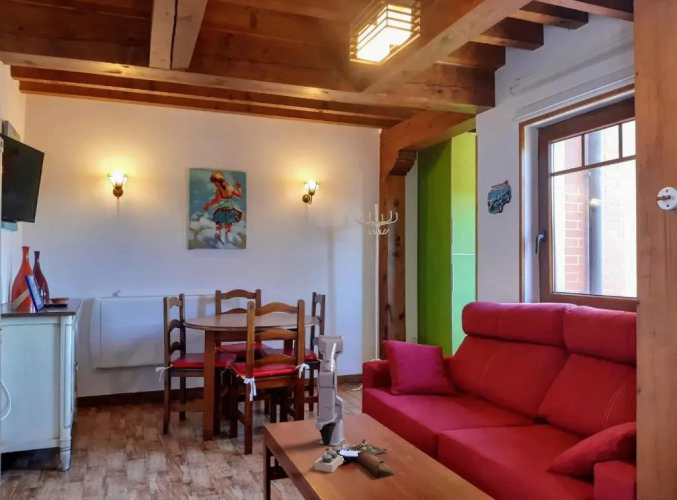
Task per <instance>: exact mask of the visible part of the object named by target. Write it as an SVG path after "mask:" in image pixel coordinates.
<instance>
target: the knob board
mask: <svg viewBox="0 0 677 500" xmlns="http://www.w3.org/2000/svg"><path fill="white" fill-rule="evenodd" d="M329 450H332V449H331V448H330V449H329ZM325 454H327V451H326V452H325V453H323V455H325ZM343 461H344V458H343V456H340V455H336V458H335V459H331V462H330V463H323V462H322V455H321V456H320V457H319V458H318V459H316V460H315V461H314V462H313V470H315V471H321V470H322V472H326V473H327V472H328V473H334V471H336V468H337V467H338V466H339V465H340V466H341V465H342V464H343V463H344V462H345V461H344V462H343ZM340 466H339V467H340ZM339 467H338V468H339ZM338 468H337V469H338Z"/></svg>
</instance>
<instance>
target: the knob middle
mask: <svg viewBox="0 0 677 500" xmlns="http://www.w3.org/2000/svg"><path fill="white" fill-rule="evenodd" d="M326 452H327V454H328V455H331V456H332V458H331V459H335V458H336V453H337V452H336V451H334V450H330V449H328V450H327V451H326Z"/></svg>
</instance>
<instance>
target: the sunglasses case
mask: <svg viewBox="0 0 677 500" xmlns="http://www.w3.org/2000/svg"><path fill="white" fill-rule="evenodd" d="M357 454H358V457H357V459H356V458H355V460H356V461H357V462H358V463H360V464H361V465H363V466H364V467H365V468H366V469H368V470H369V472H371V473H372V474H374V476H376V477H377V478H378V479H382V478H387V477H392V476H397V475H398V474H397V472H395V470H394V469H393V468H391V466H389V465H388V464H387V463H386V462H385V460H383V458H380V457H379V456H376V455H374V454H371V453H369V452H364V451H359V452H357V453H356V455H357Z"/></svg>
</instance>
